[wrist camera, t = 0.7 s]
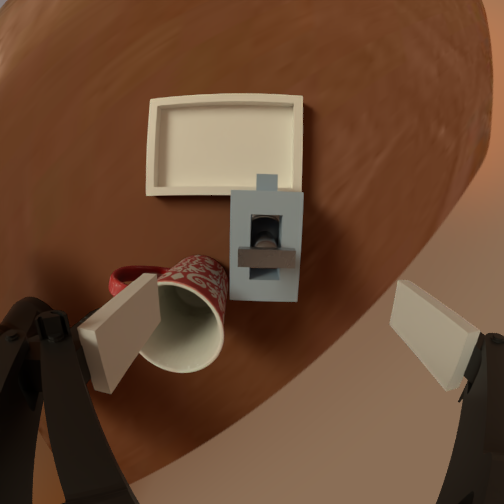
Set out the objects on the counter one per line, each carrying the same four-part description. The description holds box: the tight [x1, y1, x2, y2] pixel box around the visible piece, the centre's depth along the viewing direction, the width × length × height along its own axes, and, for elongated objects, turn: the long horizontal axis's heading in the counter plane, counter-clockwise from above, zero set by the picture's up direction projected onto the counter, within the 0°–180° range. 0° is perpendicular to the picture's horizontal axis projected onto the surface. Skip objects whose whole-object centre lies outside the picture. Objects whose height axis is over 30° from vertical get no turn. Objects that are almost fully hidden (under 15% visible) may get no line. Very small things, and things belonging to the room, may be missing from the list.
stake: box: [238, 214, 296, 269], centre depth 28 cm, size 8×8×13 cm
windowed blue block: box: [230, 174, 304, 302], centre depth 28 cm, size 12×6×4 cm, turn 179°
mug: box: [109, 255, 228, 373], centre depth 29 cm, size 13×9×14 cm
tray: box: [146, 94, 303, 196], centre depth 31 cm, size 18×12×2 cm, turn 89°
